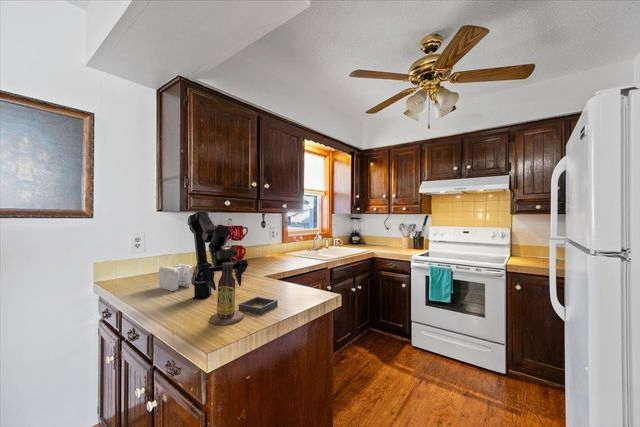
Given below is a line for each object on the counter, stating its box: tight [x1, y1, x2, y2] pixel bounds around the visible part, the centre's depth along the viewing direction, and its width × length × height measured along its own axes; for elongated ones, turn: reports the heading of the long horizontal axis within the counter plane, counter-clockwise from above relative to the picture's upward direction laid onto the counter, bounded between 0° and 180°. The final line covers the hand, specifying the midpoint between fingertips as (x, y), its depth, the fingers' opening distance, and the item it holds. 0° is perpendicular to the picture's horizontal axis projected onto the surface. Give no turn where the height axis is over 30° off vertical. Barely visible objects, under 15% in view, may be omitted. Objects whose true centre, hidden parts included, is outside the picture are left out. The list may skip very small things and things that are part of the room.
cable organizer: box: [158, 263, 193, 292], centre depth 143 cm, size 15×11×12 cm
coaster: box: [209, 310, 245, 326], centre depth 102 cm, size 12×12×1 cm
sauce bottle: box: [216, 261, 236, 319], centre depth 102 cm, size 6×6×20 cm
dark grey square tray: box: [238, 296, 279, 316], centre depth 113 cm, size 11×11×2 cm
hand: (228, 287), depth 101 cm, fingers open, 9 cm apart
